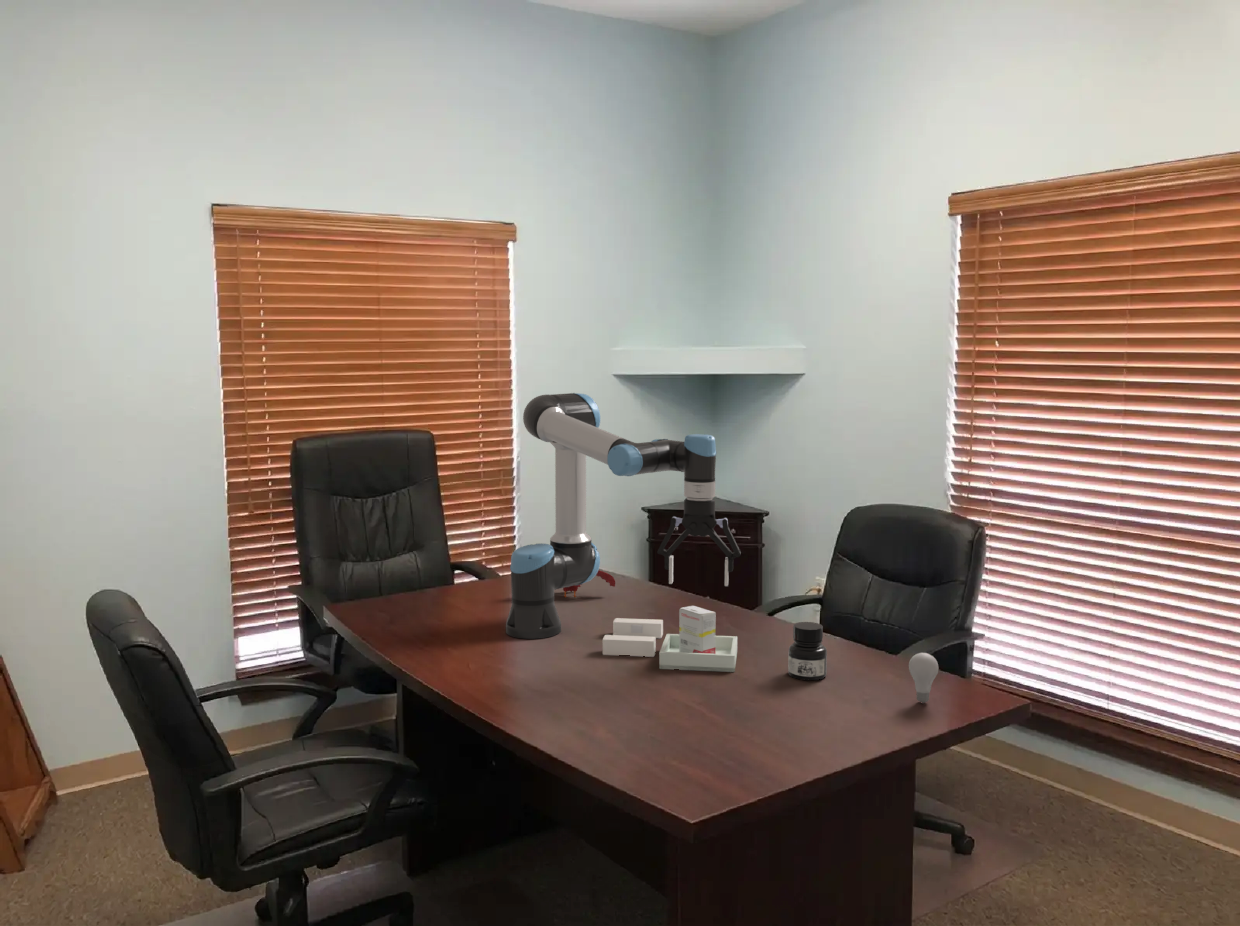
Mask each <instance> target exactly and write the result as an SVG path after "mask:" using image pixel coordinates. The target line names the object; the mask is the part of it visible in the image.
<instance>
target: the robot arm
mask: <svg viewBox="0 0 1240 926" xmlns="http://www.w3.org/2000/svg"><path fill="white" fill-rule="evenodd" d="M522 421H523V425H524V428H525V429H526V431H527V432H528V433H529V434H530V435H531V436H533V437H534V438H536V439H538V440H541V441H543V442H545V443H550V444H551V445H552V446H553V448H554V449H555V452H554V455H555V456H554V457H555V458H554V459H555V460H554V461H555V464H554V467H555V468H554V469H555V470H554V471H555V474H554V477H555V478H554V479H555V482H554V483H555V484H554V485H555V498H554V499H555V503H554V504H555V532H554V534H553V535H552V536H551V537H550V539H549V542H550V543H549V544H548V543H535V544H527V545H524V546H519V547H518V548H516V549H515V550H514V551H513V552H512V554H511V558H510V565H509V567H510V568H509V569H510V577H511V578H510V581H511V582H510V583H511V589H510V590H511V591H510V592H511V605H510V609H509V613H508V616H507V619H506V622H505V634H506V635H507V636H509V637H512V638H516V639H527V640H530V639H531V640H534V639H535V640H536V639H545V638H549V637H554V636H556V635H558V634H560V632H562V621H561V619H560V618H561V617H560V615H559V612H558V610H557V606H556V604H555V590H560V589H563V588H565V587H569V586H574V585H580V586H582V585H583V584H585V583H588V582H590V581H592V580H593V578H595V577H597V576H596V574H597V572H598V570H599V569H600V567H601V566H600V565H601V557H600V552H599V551H598V548H597V546H596V545H595V544H594V543H593V542H592V537H591V536H590V535H589V534H588V532H587V457H589V458H591V459H594V460H597V461H599V462H600V463H604V464H606V465H608V468H609V469H610V471H611V472H612V474H614V475H616V476H617V477H633V476H636V475H644V474H653V473H658V472H659V473H660V472H666V471H668V472H670V471H672V472H681V473H683V475H684V479H683V481H684V482H683V485H684V486H683V493H684V494H683V496H684V497H685V499H683V517H682V518H681V517H677V516H675V515H673V516H672V517H671V518H670V524H669V525H670V526H669V528H668V530H667V531H666V534H665V535H664V538H663V540H662V541H661V543H660V545H659V548H658V549H657V552H656V553H657V554H658V555H661V556H663V557H664V570H668V584H669V585H672V584H673V582H674V555H672V554H673V553H674V551H676V549H677V548H678V547H679V546H680V545H681V543H683V541H684V540H685V539H686V538H687V537H688V536H689V535H690V536H692V537H702V538H706V537H707V536H709V538H711V540H712V541H713V542H714V543H715V545H717V547H718V548H719V549H720V551H722V553H723V554H724V555H725V559H724V587H729V573H733V570H734V560H735V559H736V558H739V557H741V553H742V552H741V549H740V547H739V546H738V544H737V542H736V539H735V537H734V535H733V533H732V531H731V529H730V526H729V519H728V517H723V518H718V519H717V518H716V500H715V499H714V498H715V497H716V460H717V458H716V457H717V446H716V437H715V436H714V435H711V434H705V433H704V434H703V433H702V434H701V433H694V434H693V433H692V434H686V435H685V436H684V441H680V440H672V439H668V438H663V439H662V438H656V439H653V440H651V441H647V442H644V441H643V442H633V441H631V440H629V439H626V438H624V437H621V436H619V435H616V434H614V433H612V432H609V431H606V430H604V429H602V428H599V427H600V426H601V425H600V424H601V413H600V409H599V406H598V405H597V403H596V402H595V401H594V399H593V397H591V396H590V395H588V394H585V393H577V392H576V393H575V392H571V393H557V394H556V393H555V394H554V393H553V394H541V395H538V396H537V395H536V397H534V398H532V399H531V400H529V402H528V403H527V404H526V406H525V408H524V410H523V416H522ZM680 524H682V526H683V527H684V528H685V529H684V531H683V532H682V533H681V534H680V535H679V536H678V537H677V538H676V539H675V541H674V542H673V543H672V544H671V545H670V547H668V549H666V546H667V544H668V542H669V541H670V539H671V536H672V535H673V533H674V531H675V530H676V527H679V526H680ZM717 525H718V526H719V528H721V529H722V530H723V532H724V535H725V536H726V538H727V542H729V545H730V547H731V550H730V548H729V547H728V546H727V545H726V543H725V542H724V541H723V540H722V539H721V537H720V536H719V535H718V534H717V532H716V531H715V527H716V526H717ZM581 584H582V585H581Z"/></svg>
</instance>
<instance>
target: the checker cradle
mask: <svg viewBox="0 0 1240 926" xmlns="http://www.w3.org/2000/svg"><path fill="white" fill-rule="evenodd" d="M663 635H664V620H663V619H656V618H655V619H652V618H651V619H650V618H649V619H648V618H623V617H621V618H620V617H616V618H614V619H613V622H612V634H605V635H604V636H603V638H602V656H619V655H630V656H629V657H643V656H645V658H647V657H649V658H654V657H655V655H656V653H655V652H656V651H657V647H656V646H657V643H656V642H657V641H656V640H657V639H662V637H663Z"/></svg>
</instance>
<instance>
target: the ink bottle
mask: <svg viewBox="0 0 1240 926" xmlns="http://www.w3.org/2000/svg"><path fill="white" fill-rule="evenodd" d="M792 629H793V630H792V632H793V633H792V638H793V643H792V644H790V645H789V647H788V661H787V662H788V663H787V665H788V667H787V669H788V675H789V676H790V677H791V678H793V679H796V680H800V679H802V680H801V681H809V680H814V681H820V680H823V679H824V677H825V678H826V676H827V674H828V673H827V670H828V667H827V664H828V660H827V659H828V651H827V650H828V649H827V647H826V646H825V645H823V643H822V642H823V637H824V636H823V635H824V634H823V632H824V631H823V630H824V627H823V625H822V624H821V623H818V622H814V621H800V622H795V623H793V627H792ZM819 679H820V680H819Z"/></svg>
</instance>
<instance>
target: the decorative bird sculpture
mask: <svg viewBox="0 0 1240 926" xmlns="http://www.w3.org/2000/svg"><path fill="white" fill-rule="evenodd" d="M595 577H597V578H598V577H600V578H601V579H602V580H605V583H608V584H609V586H610V587H613V588H615V587H616V579H615V578H614V576H612V575H611V574H609V573H608V572H605V571H603V570H598V572H597V574H596V576H595ZM582 585H583V584H581V585H574V586H569V587H565V588H562V590H563V592H564V595H563V597H564V598H567V597H569V596H568V595H567V592H570V593H572V592H573V597H574V598H576V597H577V595H576V593H577V591H578V589H579V588H581V586H582Z"/></svg>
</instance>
